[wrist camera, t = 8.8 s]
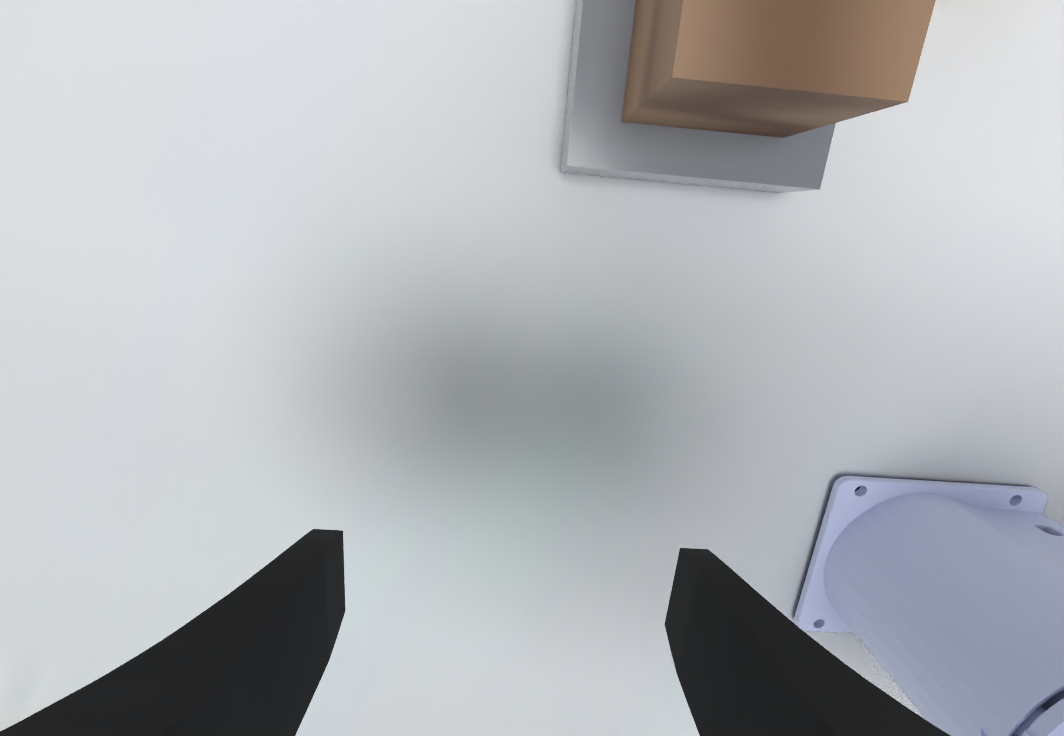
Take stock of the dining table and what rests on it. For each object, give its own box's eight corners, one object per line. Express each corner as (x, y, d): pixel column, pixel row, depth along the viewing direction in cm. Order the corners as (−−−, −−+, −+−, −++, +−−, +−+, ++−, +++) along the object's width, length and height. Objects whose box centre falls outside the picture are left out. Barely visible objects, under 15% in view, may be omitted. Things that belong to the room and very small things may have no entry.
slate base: (837, -76, 16) (895, -128, 13) (778, 192, 18) (819, 189, 16) (586, -108, 15) (599, -167, 13) (559, 172, 17) (566, 165, 15)
